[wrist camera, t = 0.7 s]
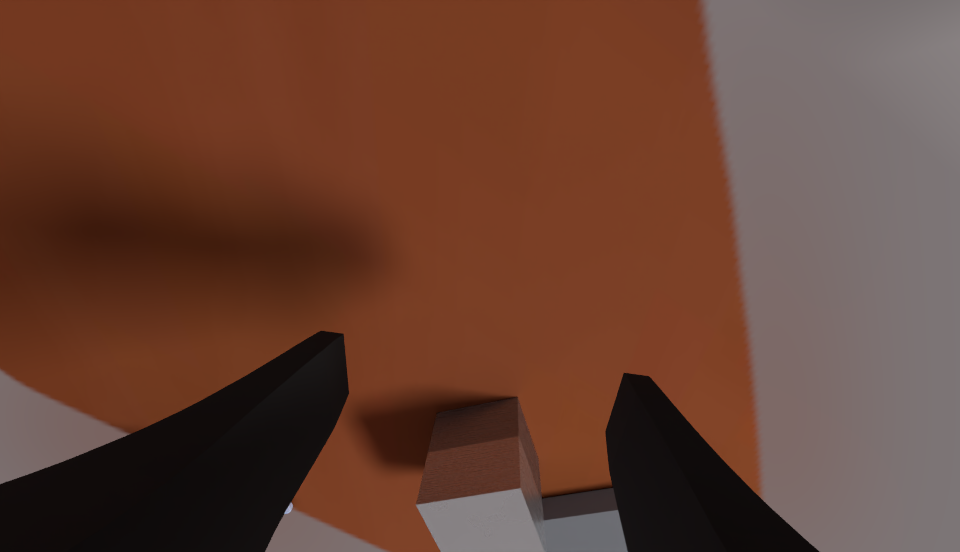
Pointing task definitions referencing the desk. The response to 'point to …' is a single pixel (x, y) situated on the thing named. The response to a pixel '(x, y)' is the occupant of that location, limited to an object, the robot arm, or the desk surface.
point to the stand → (583, 523)
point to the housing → (483, 481)
